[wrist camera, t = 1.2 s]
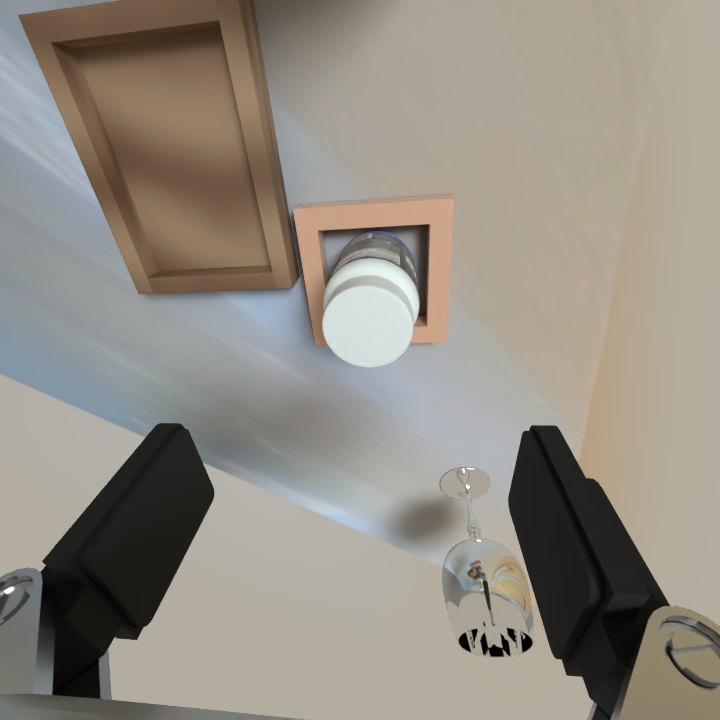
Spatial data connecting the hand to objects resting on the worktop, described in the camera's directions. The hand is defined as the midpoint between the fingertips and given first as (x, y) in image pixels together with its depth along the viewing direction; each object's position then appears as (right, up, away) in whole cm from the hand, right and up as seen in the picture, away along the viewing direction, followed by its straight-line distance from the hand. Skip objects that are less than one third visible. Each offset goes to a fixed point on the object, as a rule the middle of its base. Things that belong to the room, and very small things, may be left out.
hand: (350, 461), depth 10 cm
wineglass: (+10, -8, +22) cm, 26 cm away
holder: (+1, +8, +12) cm, 15 cm away
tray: (-9, +14, +10) cm, 19 cm away
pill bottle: (+1, +9, +12) cm, 15 cm away
